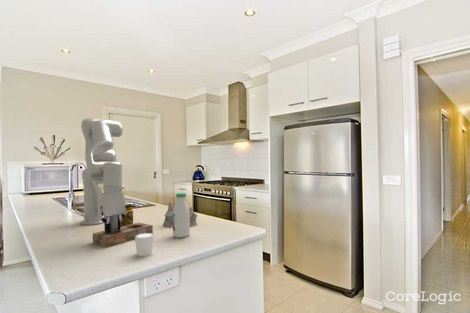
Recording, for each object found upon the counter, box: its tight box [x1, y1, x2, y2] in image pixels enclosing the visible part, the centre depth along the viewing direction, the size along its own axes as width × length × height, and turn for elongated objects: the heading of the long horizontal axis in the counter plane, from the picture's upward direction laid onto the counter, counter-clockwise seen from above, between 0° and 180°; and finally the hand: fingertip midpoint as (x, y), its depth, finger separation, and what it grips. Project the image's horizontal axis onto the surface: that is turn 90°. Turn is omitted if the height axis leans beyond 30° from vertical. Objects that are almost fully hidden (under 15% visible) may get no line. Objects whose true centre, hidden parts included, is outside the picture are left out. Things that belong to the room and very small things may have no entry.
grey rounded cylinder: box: [108, 214, 118, 235], centre depth 114 cm, size 4×4×12 cm
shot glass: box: [134, 233, 155, 257], centre depth 99 cm, size 7×7×7 cm
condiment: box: [121, 203, 134, 227], centre depth 137 cm, size 7×8×12 cm
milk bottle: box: [172, 192, 191, 238], centre depth 121 cm, size 8×8×20 cm
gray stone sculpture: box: [162, 201, 198, 229], centre depth 142 cm, size 16×16×15 cm
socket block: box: [92, 222, 154, 248], centre depth 118 cm, size 11×23×4 cm, turn 146°
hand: (112, 230), depth 114 cm, fingers closed on grey rounded cylinder, 4 cm apart
